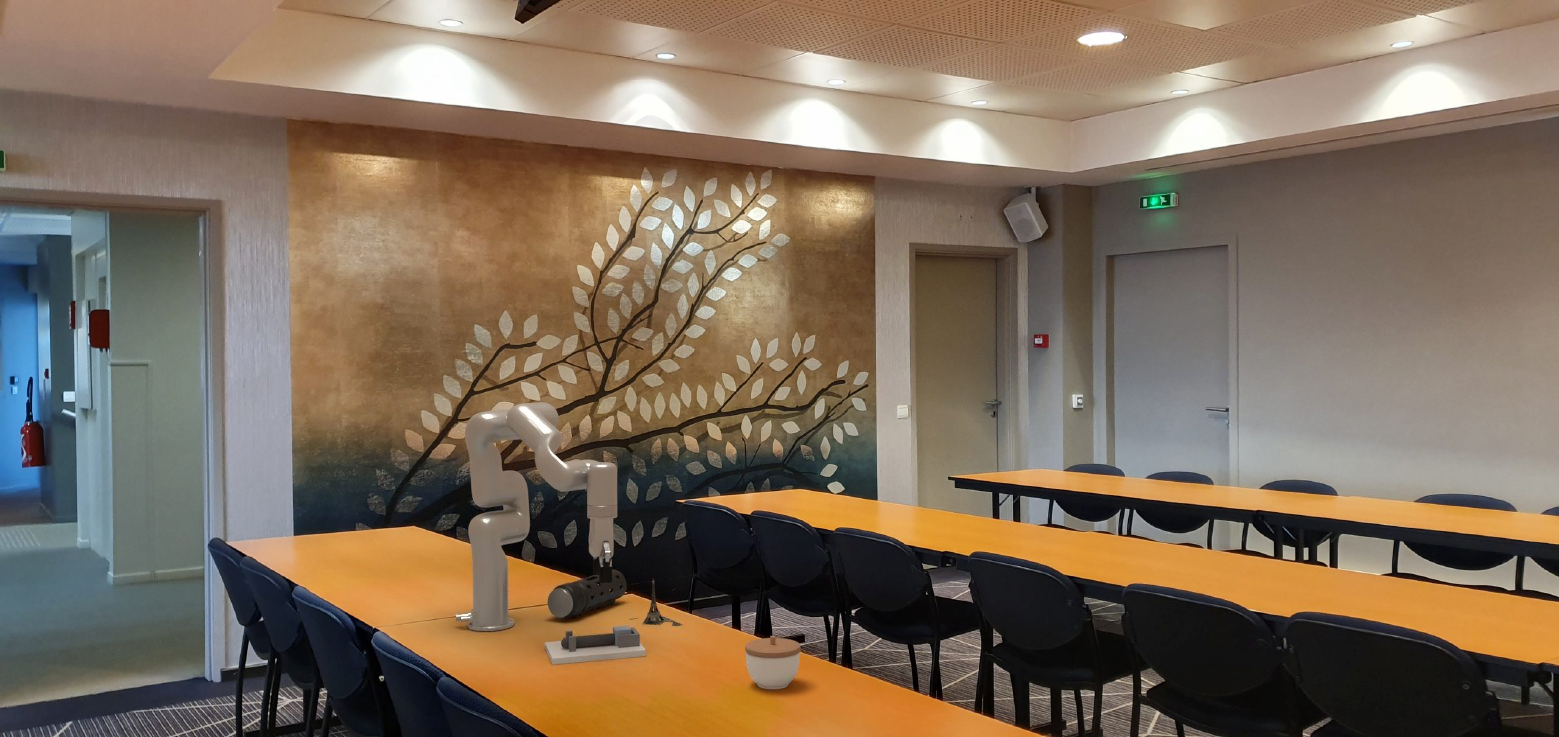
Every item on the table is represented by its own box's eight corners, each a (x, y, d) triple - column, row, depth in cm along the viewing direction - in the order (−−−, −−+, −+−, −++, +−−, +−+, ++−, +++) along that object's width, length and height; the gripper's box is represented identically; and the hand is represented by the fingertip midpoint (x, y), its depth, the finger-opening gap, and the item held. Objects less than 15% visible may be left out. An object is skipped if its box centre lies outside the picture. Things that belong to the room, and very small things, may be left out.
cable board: (552, 664, 267) (552, 643, 267) (544, 647, 282) (544, 628, 282) (646, 655, 275) (645, 635, 274) (633, 640, 290) (633, 620, 290)
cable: (562, 650, 274) (561, 634, 274) (560, 646, 278) (559, 630, 278) (631, 644, 279) (631, 629, 279) (628, 640, 283) (628, 625, 283)
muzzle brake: (627, 603, 332) (627, 569, 332) (573, 624, 307) (572, 587, 307) (601, 600, 336) (601, 567, 336) (545, 621, 311) (544, 584, 311)
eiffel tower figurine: (684, 626, 306) (683, 578, 305) (651, 632, 300) (650, 583, 300) (659, 616, 318) (658, 570, 318) (627, 621, 313) (626, 574, 312)
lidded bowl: (781, 696, 242) (781, 646, 242) (734, 687, 248) (734, 638, 248) (810, 681, 252) (810, 633, 252) (764, 673, 259) (764, 626, 259)
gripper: (582, 507, 286) (582, 572, 287) (592, 517, 270) (592, 586, 270) (611, 506, 289) (611, 571, 289) (623, 515, 272) (623, 584, 272)
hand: (602, 578), depth 280 cm, fingers open, 9 cm apart
